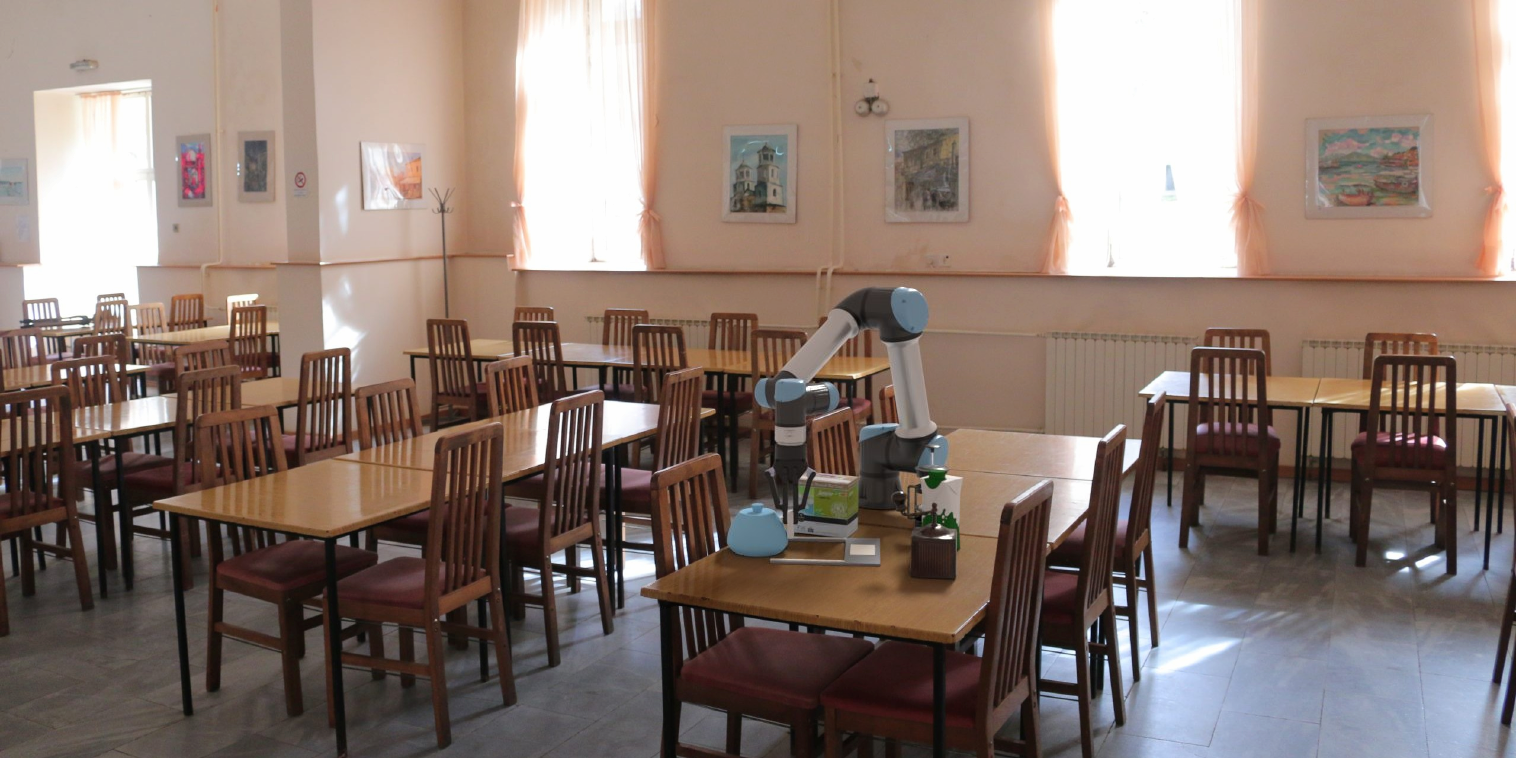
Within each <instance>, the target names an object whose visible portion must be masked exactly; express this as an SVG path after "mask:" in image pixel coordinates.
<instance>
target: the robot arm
mask: <svg viewBox="0 0 1516 758" xmlns="http://www.w3.org/2000/svg"><path fill="white" fill-rule="evenodd" d="M929 316H930V311H929V305H928V302H927V299H926V298H925V296H924V295H923V294H922V292H919V290H917V289H914V288H909V287H903V286H898V287H891V286H866V287H862V288H860V289H857V290H855V291H853V292H852V293H850V294H849V295H847V296H845V298H843V299H842V300H841V301H838V303H837V304H836V305H835V306H834V307H833V308H832V309H831V310H830V311H829V313H828V314H827V320H826V321H824V323H823V324H822V325H821V326H819V328H818V329H817V330H816V331H815V333H814V334H812V336H810V338H809V339H807V341H806V342H805V343H804V345H802V346H801V348H800V349H799V350H798V351H797V352H796V353H795V354H794V355H793V356H792V357H791V358H790V359H789V360H788V362H787V363H786V364H785V365H784V366H783V367H782V368H781V369H780V370H779V371H778V373H777V374H775V376H774V377H766V378H762V379H759V380H758V382H757V383H756V385H755V388H754V398H755V401H756V402H757V404H758V405H759V406H761V407H763V408H764V407H765V408H768V409H772V410H774V441H775V442H776V443H775V444H774V462H773V464H772V467H770V468H769V469H765V470H764V476H765V477H766V479H767V480H768V484H769V488H770V491H771V496H772V499H773V504H774V508H775V509H776V510H778V511H779V510H780V511H781V512H782V522H783V524H784V525H786V528H787V529H786V532H787V539H793V538H794V537H795V533H794V524H795V525H797V524H798V512H799V511H800V510H804V509H805V507H806V503H807V499H808V495H809V491H810V487H811V483H812V480H813V479H814V477H815V476H816V473H817V471H816V470H815V469H812V468H810V467H809V464H808V462H807V445H806V443H805V442H806V440H807V416H813V415H819V414H826V413H829V412H832V411H834V410H835V409H836V408H837V407H838V406H839V403H840V393H839V390H838V388H837V386H835V385H834V384H833V383H831V382H829V381H827V382H822V381H820V382H818V383H817V382H816V383H814V382H810V381H812V379H813V378H814V377H815V376H816V375H817V373H818V372H819V371H820V370H821V369H823V367H824V366H825V365H826V364H827V363H828V362H829V360H830V359H831V358H833V356H834V355H835V353H837V351H839V349H840V348H841V347H842V346H843V345H844V344H845V343H846V342H847V341H848V339H853V338H855V337H856V336H857V335H858V334H859V333H860V332H863V331H867V330H873V331H878V334H879V340H880V342H882V343H883V344H885V346H886V350H887V356H888V362H889V367H890V374H891V380H892V381H891V382H892V386H893V387H892V388H893V393H894V398H895V399H894V400H895V405H896V411H897V419H898V423H890V422H889V423H878V424H871V425H866V426H864V427H862V428H861V429H860V431H859V437H858V438H859V440H858V443H859V444H858V446H859V447H858V453H859V454H858V456H859V457H858V460H859V461H858V463H859V464H858V469H859V470H858V471H859V472H858V473H859V474H858V477H859V492H858V508H863V509H872V510H893V509H896V505H895V503H894V502H892V500H891V496H892V494H894V493H895V492H898V491H903V492H905V491H904V487H903V484H902V481H901V476H900V473H906V474H911V475H917V470H915V467H917V466H920V465H932V453H931V448H927V447H925V445H929V444H935V445H940V446H941V447H940V448H935V449H934V453H933V465H941V466H945V465H946V463H947V461H948V458H949V457H948V456H949V452H950V451H949V450H950V449H949V448H950V445H949V441H948V439H947V438H946V437H945V436H943V435H942V434H939V431H938V426H937V424H936V423H935V422H934V421H932V420H931V417H930V416H931V415H930V410H929V404H928V397H927V396H928V395H927V388H926V383H925V377H924V370H923V363H922V356H921V349H920V343H919V340H920V338H921V337H922V336H923V335H924V333H923V331H924V330H925V329H926V328H927V325H928V323H929V320H928V319H929V318H930V317H929ZM775 472H776V474H777V475H778V477H779V478H780V480H782V481H781V482H782V483H781V486H782V503H781V501H780V496H779V492H778V488H777V483H776V480H775V475H776V474H775ZM805 472H807V474H806V476H807V477H808V479H807V482H806V486H805V490H804V494H803V499H802V503H801V504H799V488H798V483H799V479H800V478H801V477H802V475H803V474H804V473H805ZM789 481H792V509H789Z"/></svg>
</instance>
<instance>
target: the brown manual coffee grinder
mask: <svg viewBox="0 0 1516 758" xmlns="http://www.w3.org/2000/svg"><path fill="white" fill-rule="evenodd" d="M891 500H892V502H894V503H895V505H896V508H895V512H897V513H898V512H900V514H901V516H903V517H906V518H907V517H914V516H922V515H928V514H930V513H932V523H929V524H928V525H926V526H924V527H914V526H913V529H912V530H911V531H912V532H911V535H910V540H911V541H910V542H911V543H910V544H911V546H910V567H909V568H910V570H909V575H910V578H912V579H913V578H914V579H922V580H923V579H924V580H925V579H926V580H951V581H953V580H956V578H957V576H958V575H957V572H958V570H957V569H958V568H957V553H958V552H957V550H958V549H957V530H956V529H949V528H946V527H944V526H942V525H941V524H937V522H936V512H937V511H938V509H937V508H936V507H937V503H935V502H934V503H932V509H931V510H930V511H925V512H920V511H917V512H916V513H914V512H910V513H907V509H908V508H907V493H906V492H905V491H904V492H903V491H898V492H895V493H894V494H892V496H891Z"/></svg>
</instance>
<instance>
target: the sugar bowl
mask: <svg viewBox="0 0 1516 758" xmlns="http://www.w3.org/2000/svg"><path fill="white" fill-rule="evenodd" d="M726 543H727V546H728V547H729V549H730V550H732V552H733V553H734V552H735V553H734V554H737V555H740V556H743V555H744V557H750V558H751V557H752V558H764V557H771V556H775V555H778V554H781V553H782V552H783V551H784V550H785V549H786V547H787V546H788V544H789V541H788V539H787V529H786V526H785V524H783V520H782V518H781V517H780V516H779V514H778V513H777V512H776V510H774V509H772V508H769V507H768V508H767V507H764V504H763V503H761V502H757V503H755V502H754V503H752V504H751V507H748V508H743V509H740V511H738V513H737V514H736V516H735V517H734V519H733V521H732V522H731V524H730V527H729V529H728V532H727V538H726Z"/></svg>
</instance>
